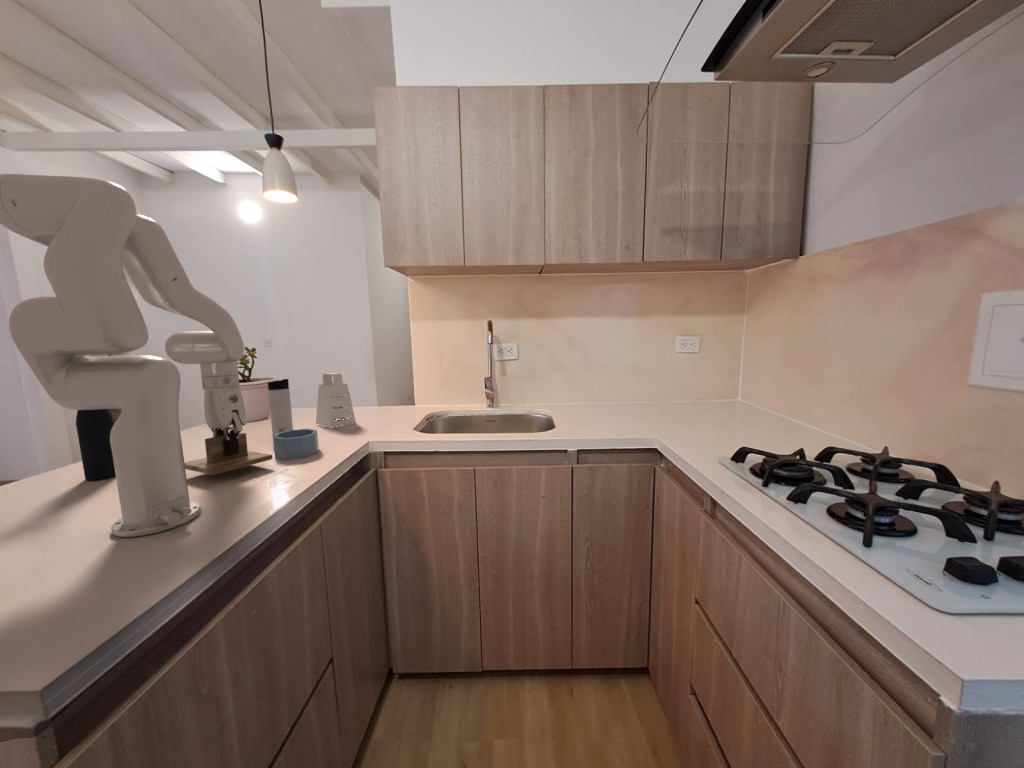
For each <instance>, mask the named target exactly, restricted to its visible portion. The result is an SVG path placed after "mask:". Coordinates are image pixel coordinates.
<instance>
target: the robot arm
mask: <svg viewBox="0 0 1024 768" xmlns="http://www.w3.org/2000/svg"><path fill="white" fill-rule="evenodd" d="M0 225H1V226H3V227H4V228H6V229H7V230H10V231H11V232H13V233H15V234H16V235H19V236H22V237H23V238H25V239H29V240H31V241H33V242H36V243H38V244H41V245H43V246H45V247H47V249H46V251H45V254H44V258H43V270H44V273H45V275H46V278H47V280H48V282H49V284H50V286H51V288H52V291H53V292H54V295H55V296H37V297H32V298H28V299H25V300H23V301H21V302H19V303H17V304H16V306H14V308H13V309H12V310H11V312H10V315H9V320H8V323H9V324H8V326H9V327H8V329H9V333H10V336H11V338H12V341H13V343H14V344H15V346H16V349H18V351H19V353H20V355H21V356H22V357H23V360H25V362H26V364H27V365H28V367H29V368H30V370H31V372H32V373H33V374H34V376H35V377H36V379H37V380H38V382H39V384H40V386H42V388H43V390H44V391H45V392H46V394H47V395H48V396H49V397H50V399H51V400H52V401H54V403H56V404H57V405H59V406H60V407H62V408H65V409H67V410H68V409H69V410H74V411H78V410H100V409H109V410H121V413H120V414H119V416H118V418H117V419H116V420H115V421H114V425H113V427H112V429H111V433H110V444H111V449H112V455H113V461H114V468H115V474H116V477H115V478H116V479H115V480H116V485H117V491H118V493H117V494H118V498H119V504H120V511H121V518H119V519H118V520H116V521H114V522H113V523H112V524H111V527H110V528H111V529H110V530H111V533H112V534H113V535H114V536H115V537H116V536H117V537H120V538H135V537H142V536H147V535H152V534H157V533H160V532H164V531H167V530H170V529H173V528H176V527H178V526H179V527H180V526H182V525H183V524H185V523H188V522H189V521H192V520H193V519H194V518H196V517H198V515H199V514H200V513H201V511H202V509H201V505H200V503H199V502H197V501H192V500H191V501H190V494H189V489H188V488H189V487H188V480H187V479H188V478H187V473H186V469H185V457H184V450H183V449H184V448H183V442H182V441H183V440H182V435H181V428H180V418H179V417H180V415H179V401H180V394H181V393H180V392H181V390H180V389H181V380H182V379H181V373H180V371H179V370H178V369H179V368H177V366H176V365H175V364H174V363H173V362H175V363H178V364H182V365H199V367H200V378H201V386H202V391H203V392H204V393H203V394H204V395H203V398H204V399H203V404H204V406H203V407H204V418H205V423H206V425H207V426H208V428H209V429H210V430H211V432H212V435H213V437H217V436H223V435H224V438H225V441H223V446H224V455H225V456H231V455H235V454H238V453H239V445H238V438H239V433H240V432H241V433H242V431H243V430H244V428H243V427H244V426H246V424H247V416H246V414H247V413H246V408H245V403H244V398H243V393H242V391H241V388H240V379H239V377H240V376H239V366H238V361H240V360H241V359H242V357H243V356H244V353H245V344H244V341H243V338H242V335H241V333H240V330H239V328H238V326H237V324H236V322H235V319H234V318H233V317H232V316H231V314H230V313H229V312H228V311H227V310H226V309H225V308H224V307H223V306H221V305H220V304H219V303H217V302H216V301H215V300H213V299H212V298H210V297H209V296H207V294H205V293H203V292H201V291H200V290H197V289H196V288H195V287H194V286H193V285H192V283H191V281H190V279H189V277H188V274H187V272H186V271H185V269H184V267H183V266H182V263H181V261H180V259H179V257H178V255H177V253H176V251H175V250H174V248H173V246H172V243H171V242H170V240H169V237H168V236H167V234H166V232H165V230H164V228H163V227H162V225H160V223H159V222H158V221H156V220H154V219H152V218H150V217H147V216H145V215H142V214H137V208H136V204H135V201H134V198H133V197H132V195H131V193H130V192H129V191H128V190H127V189H125V188H124V187H123V186H121V185H119V184H117V183H114V182H113V181H108V180H105V179H99V178H94V177H93V178H91V177H84V176H69V175H68V176H67V175H44V174H43V175H39V174H25V173H23V174H21V173H19V174H18V173H0ZM125 272H126V274H127V275H128V277H129V279H130V280H131V282H132V284H133V285H134V287H135V288H136V290H137V292H138V294H139V295H140V296H141V298H142V299H143V301H144V302H146V303H147V304H149V305H151V306H154V307H155V308H158V309H161V310H164V311H167V312H170V313H173V314H177V315H180V316H183V317H186V318H189V319H192V320H194V321H196V322H199V323H201V324H202V325H204V326H205V327H207V328H208V329H210V330H198V331H193V330H191V331H179V332H175V333H173V334H171V335H170V336H169V337H168V338H167V339H166V342H165V344H164V350H165V353H166V355H167V356H168V358H170V359H171V360H172V361H173V362H171V361H170V360H169V359H166V358H164V357H159V356H155V355H147V354H146V355H145V354H144V355H143V354H134V355H133V354H132V355H131V354H130V355H129V354H128V355H126V353H131V352H135V351H138V350H140V349H142V348H144V347H145V346H146V345H147V343H148V341H149V331H148V327H147V324H146V321H145V318H144V316H143V314H142V312H141V309H140V308H139V305H138V302H137V300H136V298H135V296H134V293H133V290H132V289H131V287H130V285H129V282H128V280H127V277H126V274H125ZM117 354H119V355H117ZM121 354H125V355H121ZM91 355H93V356H91ZM94 355H95V356H94ZM96 355H97V356H96ZM98 355H99V356H98Z"/></svg>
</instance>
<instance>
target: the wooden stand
mask: <svg viewBox="0 0 1024 768" xmlns="http://www.w3.org/2000/svg"><path fill="white" fill-rule="evenodd" d="M223 441H225V438H224V435H223V436H217V437H207V438H204V444H205V445H204V446H205V454H206V455H205V456H206V457H203V458H199V459H195V460H190V461H184V463H185V470H189V471H193V472H199V473H202V474H206V475H211V476H215V475H218V474H219V475H220V474H222V473H226V472H230V471H234V470H237V469H240V468H244V467H248V466H252V465H256V464H259V463H264V462H267V461H271V460H273V454H270V453H263V452H258V451H252V450H248V440H247V432H242V431H241V432H240V433H239V438H238V445H239V453H238V454H235V455H231V456H225V455H224V446H223Z"/></svg>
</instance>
